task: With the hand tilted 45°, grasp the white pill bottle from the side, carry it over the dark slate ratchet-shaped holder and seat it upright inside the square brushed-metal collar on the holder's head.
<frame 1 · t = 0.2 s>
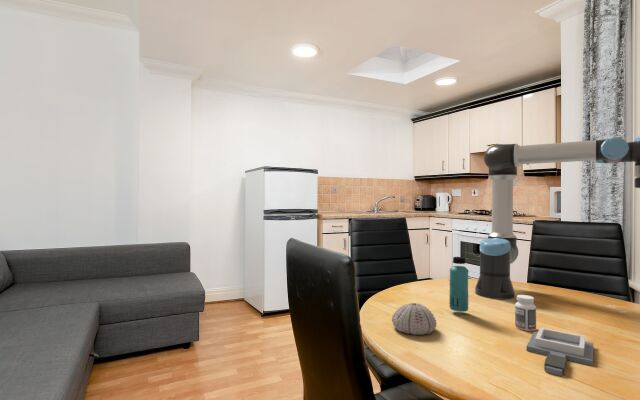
beverage bottle: (458, 313, 127), on the table
sea urchin shell: (413, 330, 111), on the table
pill bottle: (525, 329, 112), on the table
holder: (560, 349, 97), on the table
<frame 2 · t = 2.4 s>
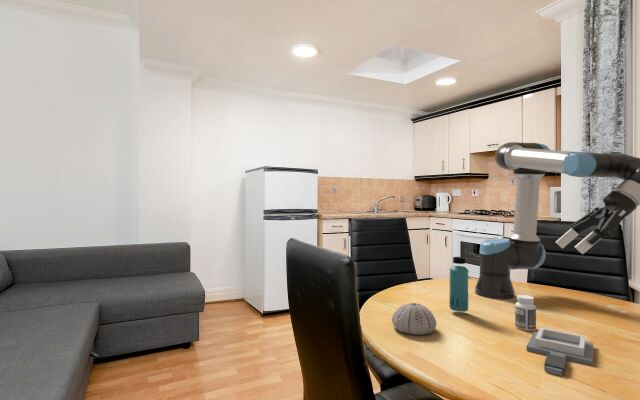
hand: (568, 247, 110), 26 cm above the table, tool tilted 45°, fingers open, 13 cm apart
nothing on the table moved.
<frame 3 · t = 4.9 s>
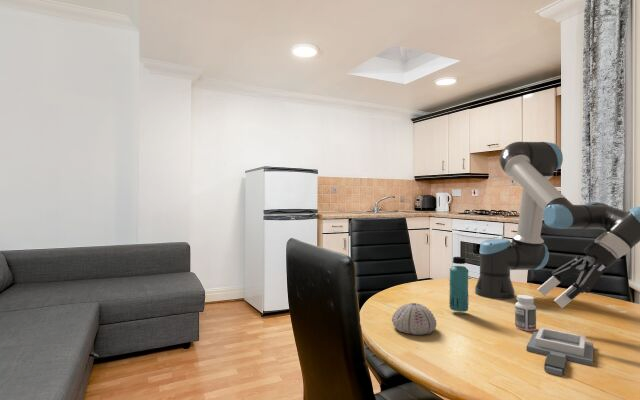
hand: (548, 298, 110), 10 cm above the table, tool tilted 45°, fingers open, 13 cm apart
nothing on the table moved.
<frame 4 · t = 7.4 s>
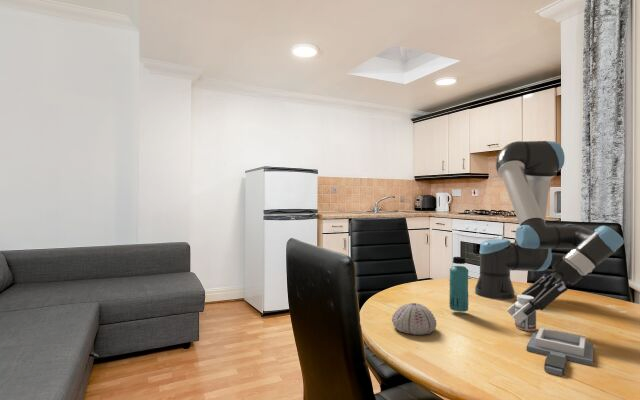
hand: (512, 316, 113), 3 cm above the table, tool tilted 45°, fingers closed on pill bottle, 6 cm apart
pill bottle: (525, 328, 112), on the table, touching gripper
everything else where it was.
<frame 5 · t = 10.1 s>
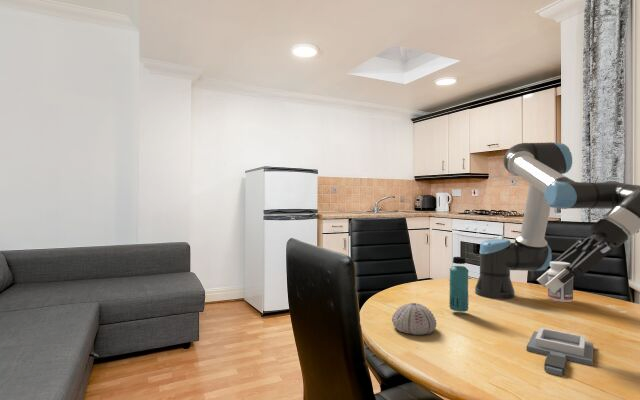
hand: (545, 286, 98), 17 cm above the table, tool tilted 45°, fingers closed on pill bottle, 6 cm apart
pill bottle: (560, 300, 97), point 13 cm above the table, touching gripper
everything else where it was.
when the fingers open (6 cm above the table, at t = 12.9 s): pill bottle drops 1 cm, resting on holder.
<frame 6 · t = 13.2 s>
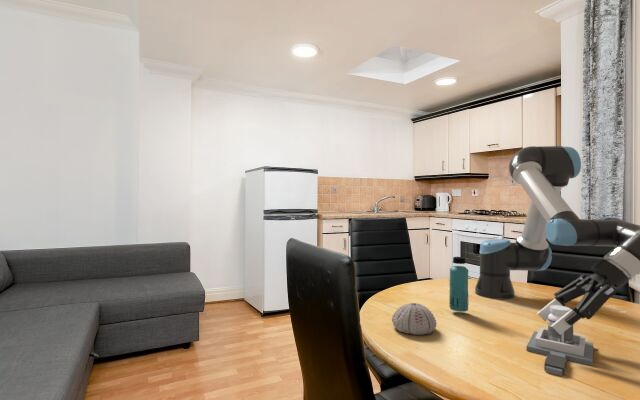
hand: (547, 323, 98), 7 cm above the table, tool tilted 45°, fingers open, 10 cm apart
pill bottle: (560, 345, 97), point 1 cm above the table, touching holder
everything else where it was.
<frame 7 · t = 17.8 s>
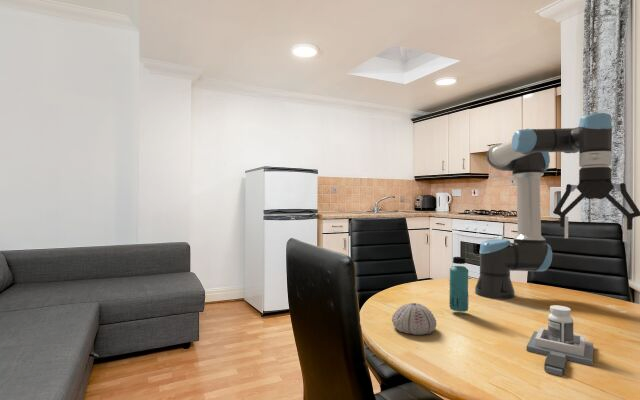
hand: (594, 239, 105), 29 cm above the table, tool pointing down, fingers open, 13 cm apart
nothing on the table moved.
at the end: pill bottle 0.1 cm off-centre on the holder, point 1.0 cm above the holder's base; pill bottle tilted 0°; the gripper is holding nothing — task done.
